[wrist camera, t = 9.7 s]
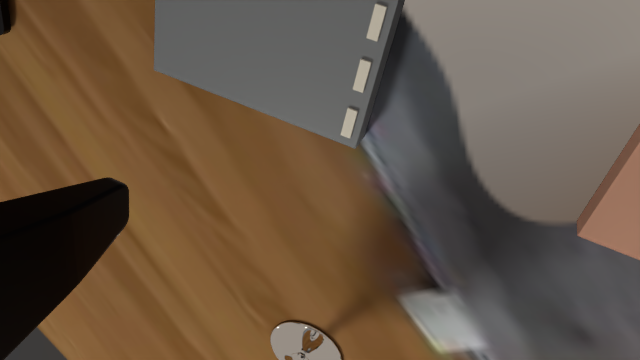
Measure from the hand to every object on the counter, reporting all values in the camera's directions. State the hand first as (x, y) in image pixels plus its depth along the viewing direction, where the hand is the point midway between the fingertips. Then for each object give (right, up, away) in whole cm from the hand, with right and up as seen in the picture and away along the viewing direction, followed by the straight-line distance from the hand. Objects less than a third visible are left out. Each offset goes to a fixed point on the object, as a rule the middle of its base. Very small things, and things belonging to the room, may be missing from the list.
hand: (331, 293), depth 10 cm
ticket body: (-2, +9, +11) cm, 14 cm away
